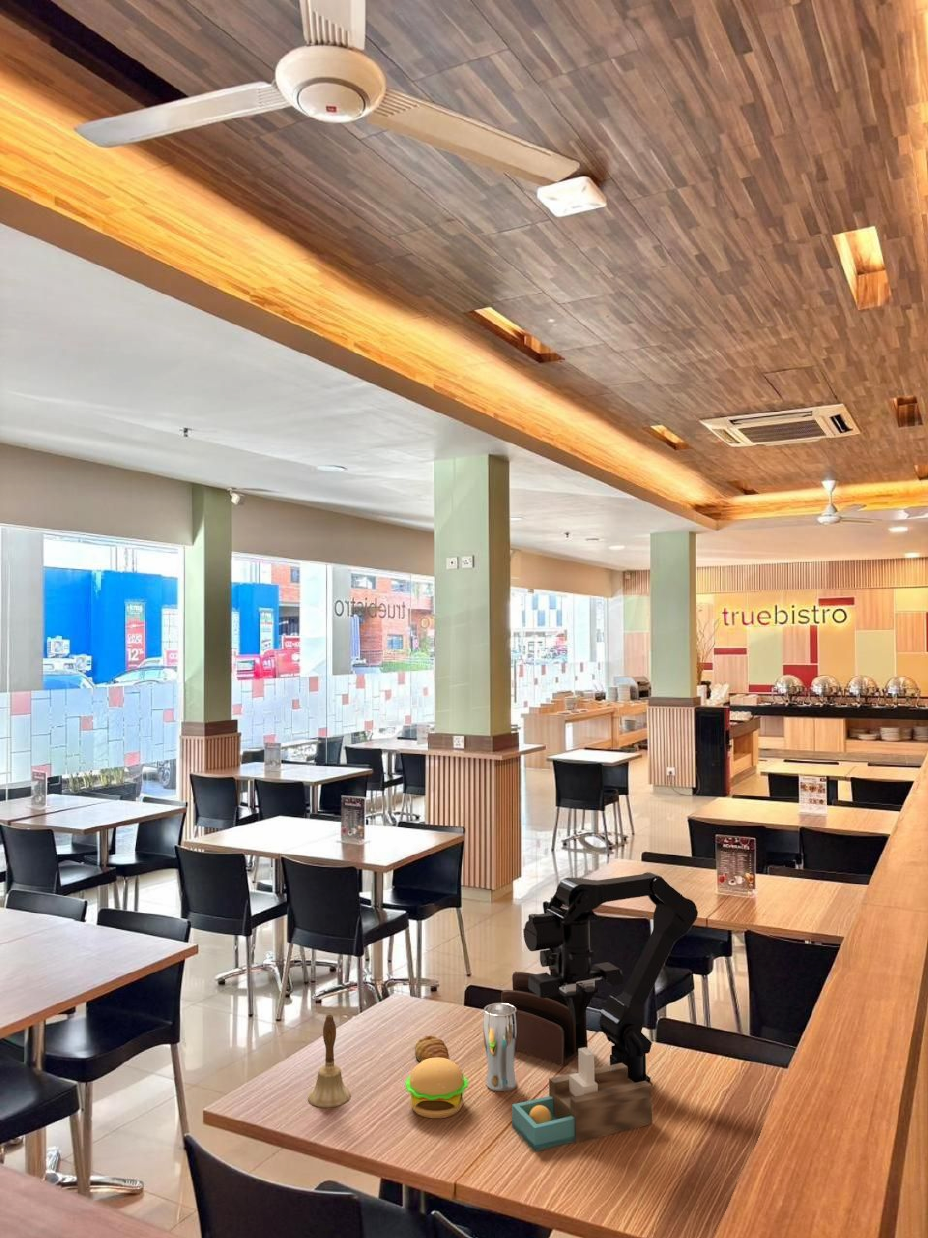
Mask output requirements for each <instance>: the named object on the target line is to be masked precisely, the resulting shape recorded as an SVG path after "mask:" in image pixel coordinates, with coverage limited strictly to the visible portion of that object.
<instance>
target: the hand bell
mask: <svg viewBox="0 0 928 1238" xmlns="http://www.w3.org/2000/svg"><path fill="white" fill-rule="evenodd" d="M334 1019H335V1018H334V1015H333V1014H332V1013H331V1014H327V1015H326V1016H325V1021H324V1024H323V1027H322V1039H323V1043H324V1045H325V1059H324V1060H325V1062H324V1063H325V1064H324V1066H321V1067H319V1068H318V1071H317V1078H316V1083H315V1086H314V1088H313V1089H312V1090H311V1091H310V1092H309V1094H308V1096H307V1100H308V1102H309V1103H310V1104H311V1105H312V1106H314V1107H318V1108H322V1109H323V1108H327V1109H329V1108H336V1107H338V1106H339V1107H340V1106H342V1105H344V1104H346V1103H347V1102H348V1101H350V1099H351V1097H352V1094H351V1092H350V1090H349V1088H347V1087H346V1086H345V1084H344V1081H343V1077H342V1076H343V1075H342V1069H341V1067H340V1066H339V1065H336V1064H335V1057H334V1056H335V1054H334V1051H335V1050H334V1049H335V1048H334V1047H335V1042H336V1039H337V1026H336V1022H335V1020H334Z"/></svg>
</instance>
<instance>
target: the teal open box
mask: <svg viewBox="0 0 928 1238" xmlns="http://www.w3.org/2000/svg"><path fill="white" fill-rule="evenodd" d="M537 1105H542V1106H545V1107H546V1108H548V1110H549V1111H550V1113H551V1121H549V1122H544V1123H540V1124H536V1123H535V1122H534V1121H533V1120H532V1119H531V1118H530V1117H529V1115H530V1111H531V1110H532V1108H534V1107H535V1106H537ZM511 1128H513V1129H514V1131H515V1132H517V1134H518V1135H519V1136H520V1137H521V1138H522V1140H524V1141H525V1142H526V1144H527V1145H528V1146H529V1147H530V1148H531V1149H532V1150H533V1151H534V1152H539V1151H542V1150H547V1149H549V1148H554V1147H558V1146H563V1145H566V1144H571V1143H574V1142H575V1119H574V1118H573V1117H572V1116H570V1117H565V1118H561V1119H557V1118H556V1117H555V1116H554V1115H553V1098H552V1097H551V1096H549V1095H548V1096H544V1097H540V1098H534V1099H531V1100H527V1101H522V1102H518V1103H513V1104H511ZM575 1143H576V1142H575Z"/></svg>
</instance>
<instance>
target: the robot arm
mask: <svg viewBox="0 0 928 1238" xmlns="http://www.w3.org/2000/svg"><path fill="white" fill-rule="evenodd" d="M642 897H648V898H649V900H650V901H651V902H652V903H653V904H654V906H655V908H654V912H653V917H652V918H653V927H652V928H653V929H652V932H651V933H650V935H649V938H648V939H647V942H646V944H645V947H644V948H643V950H642V952H641V954H640V956H639V958H638V960H637V963H636V964H635V967H634V968H633V971H632V972H631V974H630V976H629V978H628V980H627V982H626V985H625V986H624V988H623V991H622V992H621V993H620V994H618V995H617V996H616V997H614V996H612V995H608V997H607V998H606V1001H605V1004H604V1006H603V1008H602V1009H600V1011H599V1014H601V1015H600V1017H599V1020H598V1022H599V1026H600V1030H601V1031H602V1033H603V1034H604V1035H605V1036H606V1039H607V1041H608V1042H609V1043H612V1044H613V1045H611V1053H610V1055H609V1065H613V1064H618V1063H623V1064H624V1065H626V1066H627V1067H628V1078H629V1079H630V1080H632V1081H633V1082H634V1083H637V1082H641V1081H647V1082H648V1083H649V1082H650V1081H651V1077H650V1076H648V1074H647V1066H646V1065H647V1058H646V1055H647V1054H649V1053H650V1052H651V1049H652V1045H653V1042H652V1041H651V1040H650V1039H649V1038H648V1037H647V1036H646V1035H645V1034H644V1033H643V1032H642V1030H643V1028H644V1024H645V1005H646V1003H647V1001H648V999H649V997H650V995H651V992H652V991H653V988H654V987H655V984H656V983H657V980H658V978H659V976H660V974H661V972H662V969H663V967H664V966H665V964H666V962H667V960H668V957H669V956H670V953H671V951H672V949H673V947H674V945H675V943H676V941H678V940H679V939H681V938H682V937H684V936H685V935H686V934H687V933H688V932H689V931H690V930H691V928H692V926H693V925H694V923H695V922H696V920H697V918H698V915H699V911H698V909H697V905H696V903H695V902H694V901H693V899H690V898H687V897H685V896H684V895H683V894H682V893H680V892H679V891H678V890H676V889H675V888H673V886H671V885H670V884H669V883H668V881H666V880H665V879H664V878H663V877H662V876H660V875H657V874H655V873H653V872H649V871H647V872H644V873H642V874H634V875H628V876H627V875H626V876H620V877H612V878H607V879H587V878H581V877H564V878H562V879H561V880H560V882H559V884H557V887H556V891H555V893H554V894H553V896H552V897H551V900H550V902H549V903H548V905H546V908H545V912H546V913H545V912H544V913H539V914H538V913H530V914H528V918H527V919H528V920H527V921H526V922H525V924H524V928H523V939H524V944H525V946H526V948H527V949H528V950H529V951H530V952H537V951H539V962H540V966H541V967H542V968H545V967H548V970H549V971H555V973H556V974H560V976H555V977H554V976H552V975H551V974H550V973H548V972H541V973H533V974H534V975H531V977H530V978H529V980H528V985H529V989H530V990H531V991H532V992H534V993H535V994H536V995H538V996H539V997H540V998H548V997H553V996H556V995H557V994H558V993H561V994H562V995H563V996H564V998H565V1000H566V1002H567V1005H568V1008H569V1010H570V1013H571V1016H572V1019H573V1022H574V1023H575V1024H579V1023H580V1022H581V1019H582V1017H583V1015H584V1013H585V1011H586V1012H587V1008H588V1006H589V1005H590V1002H591V1001H592V999H593V998H594V996H595V994H597V993H599V988H597V987H596V984H595V983H596V982H597V981H604V980H605V981H606V983H607V984H608V985H609V986H610V987H613V986H619V985H623V983H624V975H623V972H622V970H621V969H620V968H619V967H617V966H615V965H613V964H612V963H610V962H609V961H607V962H601V963H600V962H599V963H596V964H593V965H592V967H591V958H594V950H591V939H590V937H591V934H590V933H591V931H590V929H591V928H590V922H594V921H598V920H600V916H599V915H598V914H597V913H595V912H594V911H593V910H596V909H598V908H599V907H600V906H601V905H602V904H606V903H609V902H615V901H623V900H629V899H630V900H631V899H634V898H642ZM562 907H565V908H567V910H566V909H564V908H562ZM556 948H557V952H555V953H553V952H552V950H551V949H556Z"/></svg>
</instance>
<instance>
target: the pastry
mask: <svg viewBox="0 0 928 1238" xmlns="http://www.w3.org/2000/svg"><path fill="white" fill-rule="evenodd" d="M414 1055H415V1058H417V1060H418V1061H419V1063H420V1062H422V1061H423V1060H425V1059H429V1058H446V1059H449V1058H450V1054H449V1050H448V1047H447V1045H446V1044H445V1042H444V1041H443V1040H442V1039H440V1038H437V1036H435V1035H426V1036H424V1037H422V1038H420V1039H419V1040H418V1041H417V1042H416V1044H415V1046H414ZM449 1060H450V1059H449Z"/></svg>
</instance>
